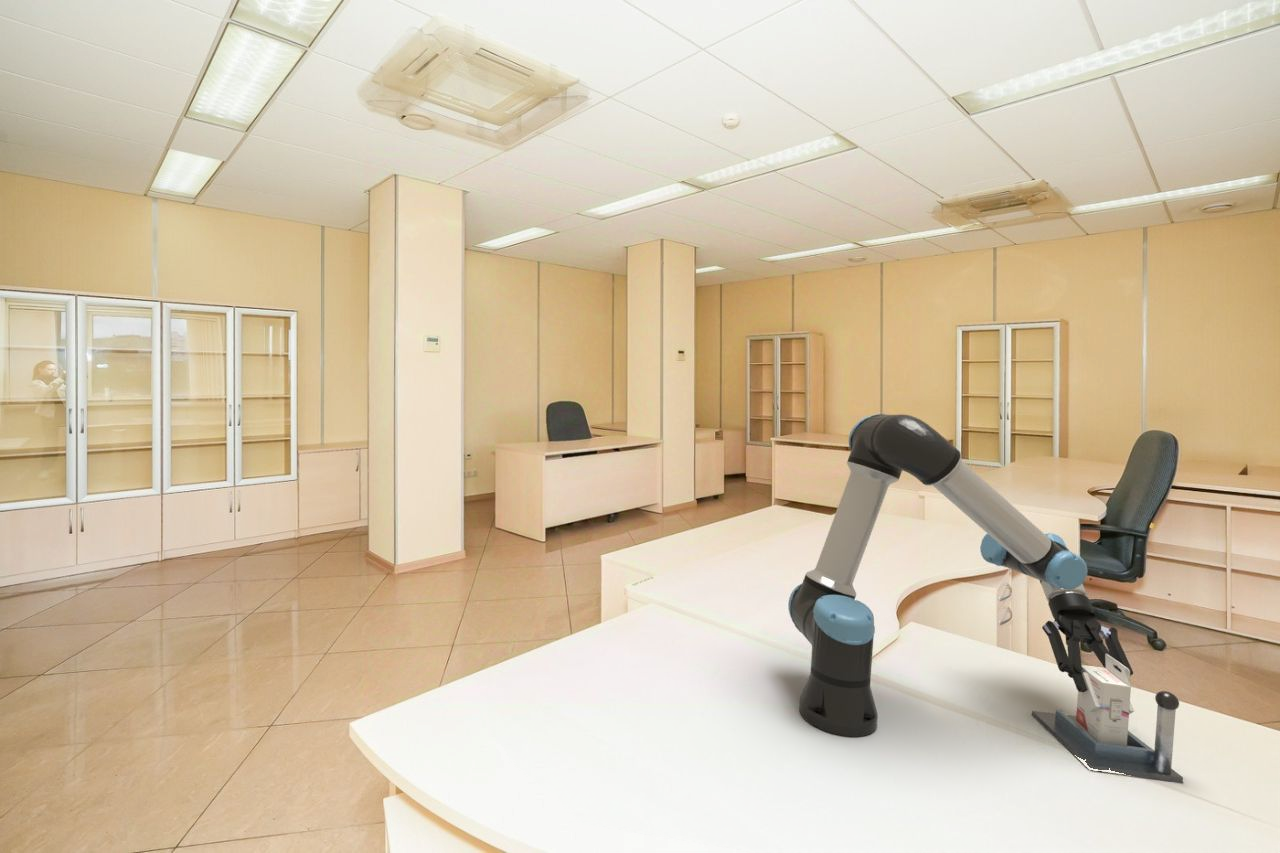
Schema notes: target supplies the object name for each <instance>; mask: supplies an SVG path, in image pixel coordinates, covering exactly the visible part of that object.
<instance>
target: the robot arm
mask: <svg viewBox="0 0 1280 853" xmlns="http://www.w3.org/2000/svg"><path fill="white" fill-rule="evenodd" d="M848 447H849V451H850V452H849V455H848V459H847V462H846V464H847V466H848V468H849V471H850V473H849V476H848V479H847V481H846V484H845V487H844V490H843V493H842V495H841V498H840V500H839V503H838V505H837V509H836V512H835V513H834V517H833V520H832V522H831V524H830V528H829V531H828V533H827V535H826V538H825V541H824V544H823V547H822V550H821V553H820V555H819V556H818V557H819V558H818V561H817V563H816V565H815V568H814V569H811V570H809V571H806V573H805V574H804V577H803V581H802V583H801V584H798V585H797V586H795V588H794V589H793V590H792V591H791V593H790V596H789V598H788V605H787V606H788V607H787V608H788V612H789V613H788V614H789V616H790V618H791V619H790V620H791V621H792V623H793V624H794V627H795V628H796V629H797V630H798V631H799V632H800V633H801V634H802V635H803V636H804V638H805V639H806V640H807V642H809V644H810V645H811V657H810V658H811V659H810V673H809V676H808V678H807V681H806V683H805V685H804V688H803V689H802V692H801V694H800V698H799V709H798V710H799V714H800V715H801V717H802V718H803V719H804V720H805V721H807V723H809V724H811V725H812V726H813V727H816V728H818V729H820V730H822V731H825V732H827V733H831V734H835V735H838V736H843V737H864V736H868V735H871V734H873V733H874V732H875V731H876V730H877V728H878V718H879V717H878V710H877V707H876V702H875V699H874V696H873V692H872V687H871V679H872V678H871V676H872V665H873V664H872V663H873V649H874V637H875V633H876V628H875V618H874V614H873V613H874V612H873V611H872V610H871V609H870V607H869V606H867V605H866V604H865V603H863V602H862V601H860V600H857V599H856V597H857V592H856V590H855V588H854V586H853V583H854V582H855V578H856V575H857V573H858V570H859V567H860V564H861V561H862V559H863V556H864V554H865V551H866V548H867V546H868V543H869V541H870V538H871V536H872V535H871V534H872V532H873V531H874V527H875V524H876V521H877V519H878V516H879V514H880V510H881V507H882V505H883V502H884V500H885V498H886V494H887V491H888V489H889V487H890V486H891V485H892V484H894V483H897V482H899V480H900V477H901V474H902V472H906V473H908V474H909V475H911V476H912V477H914V478H916V480H918V481H919V482H920V483H922V484H923V485H925V486H927V487H928V486H930V487H931V486H933V487H934V488H935V489H936V490H937V491H938V492H940V493H941V494H942V495H943V497H945V498H947V499H948V500H949V501H950V502H951V503H952V504H954V506H955V507H957V508H958V509H959V510H960V511H961V512H962V513H964V515H965V516H967V518H969V519H971V521H972V522H974V523H975V524H976V525H977V526H979V528H981V530H982V531H984V532H985V533H986V534H985V535H984V536H983V538H982V539H981V543H980V547H979V548H980V550H979V551H980V553H981V554H980V555H981V557H982V559H983V560H984V561H986V562H987V563H989V564H992V565H995V566H997V567H1004V568H1008V569H1009V570H1010V569H1011V570H1013V571H1016V572H1018V573H1020V574H1023V575H1025V576H1027V577H1028V576H1029V577H1031V578H1033V579H1036V580H1038V581H1039V584H1040V585H1041V588H1042V590H1043V593H1044V595H1045V599H1046V601H1047V602H1048V603H1047V604H1048V607H1049V611H1050V612H1051V615H1052V618H1053V619H1054V620H1053V621H1051V620H1048V621H1046V622H1045V623H1044V624H1043V625H1042V628H1041V629H1042V630H1043V632H1044V633H1045V634H1046V636H1047V637H1048V640H1049V644H1050V646H1051V649H1052V653H1053V656H1054V658H1055V662H1056V665H1057V667H1058V670H1059V671H1060V672H1062V673H1067V675H1068V677H1069V678H1071V679H1072V680H1073V682H1074V685H1075V687H1076V690H1077V692H1078V691H1079V692H1082V693H1083V696H1084V699H1085V702H1086V704H1087V707H1088V710H1089V712H1094V711H1096V710H1097V709H1098V708H1100V705H1099V702H1098V699H1097V697H1096V694H1095V692H1094V689H1093V686H1092V684H1091V681H1090V678H1089V676H1088V673H1085V672H1083V673H1081V671H1082V665H1083V664H1082V654H1081V645H1080V643H1084V644H1086V646H1087V647H1088V648H1089V649H1091V650H1092V652H1093V653H1094V654H1095V656H1096V657H1097V659H1098V661H1099V662H1100V664H1101V665H1102V666H1103V668H1106V663H1105V654H1108V655H1109V656H1111V657H1112V658H1114V659H1115V660H1117V661H1118V662H1120V663H1121V664H1122V665H1124V666H1125V667H1127V668H1128V669H1129V670H1130V677H1132V675H1134V671H1133V669H1132V667H1131V665H1130V662H1129V659H1128V658H1127V655H1126V654H1125V651H1124V649H1123V647H1122V644H1121V643H1120V640H1119V638H1118V630H1117V629H1116V627H1113V626H1112V627H1110V628H1108V627H1106V626H1102V625H1101V623H1100V621H1098V619H1096V615H1095V610H1094V608H1093V605H1092V603H1091V601H1090V598H1089V597H1088V593H1087V591H1086V589H1085V586H1084V584H1083V583H1084V582H1085V581H1086V579H1087V576H1088V566H1087V563H1086V561H1085V560H1084V559H1083V558H1082V557H1081V556H1080V555H1078V554H1076V553H1073V551H1070V550H1069V548H1068V546H1067V544H1065V543H1066V542H1065V541H1064V540H1063V538H1062V537H1061V536H1059V535H1058V534H1056V533H1053V532H1051V533H1050V532H1048V533H1044V532H1043V531H1042V530H1040V528H1039V527H1037V526H1036V525H1035V524H1034V523H1033V522H1032V521H1030V520H1029V519H1028V518H1027V517H1026V516H1025V515H1024V514H1022V512H1021V511H1019V510H1018V509H1017V508H1016V507H1015V506H1014V505H1012V503H1010V502H1009V501H1008V500H1007V499H1006V498H1005V497H1004V496H1002V495H1001V494H1000V493H999V492H998V491H997V490H996V489H995V488H993V487H992V486H991V485H990V483H988V482H987V481H986V480H985V479H983V477H982V476H980V475H979V474H977V472H976V471H974V470H973V469H972V467H970V466H969V465H968V464H967V463H965V462H964V461H963V460H962V453H961V452H960V450H958V449H957V448H956V447H955V446H954V445H953V444H952V443H951V442H950V441H949V440H948V439H946V438H945V437H944V436H942V434H940V432H938V431H937V430H936V429H934V428H933V427H931V426H930V425H929V424H928V423H927V422H925V421H923V420H922V419H920V418H918V417H915V416H913V415H909V414H885V413H877V414H876V413H875V414H873V415H870V416H866V417H863V418H862V419H860V420H859V421H857V422H856V423H855V424H854V425H853V427H852V429H851V431H850V433H849V436H848ZM855 599H856V600H855ZM1060 632H1061V633H1062V634H1063V635H1065V636H1064V637H1065V645H1067V649H1066V648H1065V645H1064V641H1063V638H1062V636H1061V633H1060ZM1100 634H1101V635H1100ZM1104 642H1105V644H1106V645H1105V644H1104ZM1113 666H1114V668H1115V669H1117V670H1118V671H1119V672H1122V671H1121V669H1119V668H1118V666H1117V665H1116V666H1115V665H1113ZM1134 712H1135V710H1134V707H1133V705H1132V702H1131V701H1130V707H1129V715H1131V714H1132V713H1134Z"/></svg>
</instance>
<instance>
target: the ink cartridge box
mask: <svg viewBox="0 0 1280 853" xmlns="http://www.w3.org/2000/svg"><path fill="white" fill-rule="evenodd" d="M1105 663H1106V668H1104V667H1101V666H1092V665H1084V664H1081V665H1082V671H1081V673H1083V672H1085V673H1088V676H1089V678H1090V681H1091V684H1092V686H1093V689H1094V692H1095V694H1096V697H1097V699H1098V702H1099V705H1100V708H1098V709H1097V710H1096V711H1094V712H1089V710H1088V707H1087V704H1086V702H1085V699H1084V696H1083V693H1082V692H1079V691H1078V690H1077V704H1076V715H1075V716H1076V721H1077V722H1078V723H1079V724H1080V725H1081V726H1082V727H1083V728H1085V729H1086V730H1087V731H1088V732H1089V733H1090V734H1091V735H1092V736H1093V737H1094V738H1095V739H1096V740H1097V741H1098V742H1101V743H1109V744H1117V745H1125V746H1127V735H1128V731H1129V718H1130V714H1129V707H1130V702H1131V692H1132V691H1131V690H1132V689H1131V688H1132V686H1131V676H1130V670H1129V669H1128V668H1127V667H1125V666H1124V665H1122V664H1121V663H1120V662H1118V661H1117V660H1115V659H1114V658H1112V657H1111V656H1109V655H1108V654H1105ZM1113 665H1115V666H1116V665H1117V666H1118V668H1119V669H1121V671H1122V672H1119V671H1118V670H1117V669H1115V668H1114V666H1113Z"/></svg>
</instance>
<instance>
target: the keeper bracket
mask: <svg viewBox="0 0 1280 853" xmlns="http://www.w3.org/2000/svg"><path fill="white" fill-rule="evenodd" d="M1154 698H1155V699H1154V700H1155V703H1156V704H1157V708H1156V709H1157V710H1156V712H1157V713H1156V724H1155V725H1156V726H1155V738H1154V739H1155V740H1154V749H1153V748H1151V747H1150V746H1149V745H1148V744H1146V743H1145V742H1143V741H1142V740H1141V738H1138V736H1136V735H1134V734H1133V733H1132V732H1131V731H1130V730H1128V735H1127V746H1125V745H1117V744H1109V743H1101V742H1098V741H1097V740H1096V739H1095V738H1094V737H1093V736H1092V735H1091V734H1090V733H1089V732H1088V731H1087V730H1086V729H1085V728H1083V727H1082V726H1081V725H1080V724H1079V723H1078V722H1077V721H1076V715H1072V714H1066V713H1065V712H1063V710H1061V709H1060V710H1059V709H1055V713H1054V712H1046V711H1040V710H1039V711H1038V710H1031V716H1032V717H1033V718H1034V719H1035V720H1036V721H1037V722H1038V723H1039V724H1040V725H1041V726H1042V727H1043V728H1045V730H1047V731H1048V732H1049V733H1050V734H1051V736H1052V737H1054V738H1055V739H1056V740H1057V741H1058V742H1059V743H1060V744H1061V745H1062V746H1063V747H1064V748H1065V749H1066V750H1067V751H1068V752H1070V754H1071V755H1072V756H1074V755H1076V756H1077V757H1079V758H1081V759H1083V760H1085V759H1086V761H1085V762H1086V763H1087V765H1088V766H1089V767H1090V768H1093V769H1098V770H1109V768H1110V770H1111V771H1115V772H1119V773H1124V774H1126V775H1131V776H1130V777H1133V776H1134V777H1135V778H1142V779H1148V780H1156V781H1162V782H1163V781H1164V782H1172V783H1179V784H1183V783H1184V777H1183V776H1182V775H1181V774H1179V773H1178V772H1177V771H1175V770H1174V769H1173V768H1172V765H1173V764H1172V763H1173V754H1174V753H1173V752H1174V748H1173V747H1174V739H1175V737H1174V736H1175V723H1176V722H1175V721H1176V711H1177V709H1178V708H1179V706H1180V701H1179V698H1178V697H1177V696H1176V695H1175V694H1174V693H1172V692H1170V691H1165V690H1162V691H1158V692H1157V693H1156V694H1155V697H1154ZM1126 775H1125V776H1126Z"/></svg>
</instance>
